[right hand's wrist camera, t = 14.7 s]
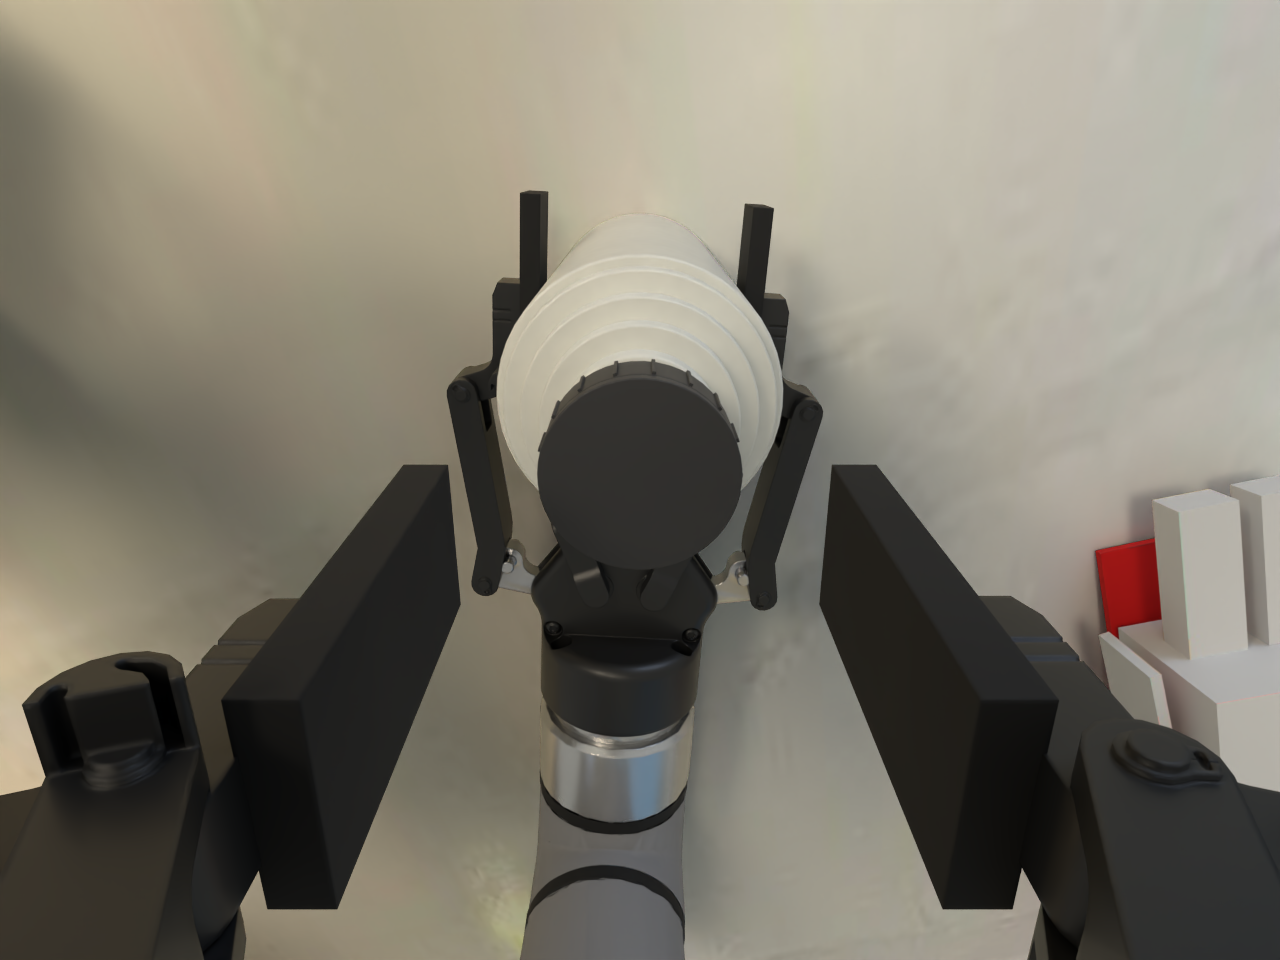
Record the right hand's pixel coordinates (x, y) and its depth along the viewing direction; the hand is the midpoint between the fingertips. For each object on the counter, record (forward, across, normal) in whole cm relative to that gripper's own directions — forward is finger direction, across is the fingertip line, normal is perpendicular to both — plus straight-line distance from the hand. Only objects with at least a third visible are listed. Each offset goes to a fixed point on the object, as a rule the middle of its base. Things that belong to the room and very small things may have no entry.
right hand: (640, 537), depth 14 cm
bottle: (+26, 0, 0) cm, 26 cm away
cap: (+3, 0, 0) cm, 3 cm away
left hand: (+20, 0, -5) cm, 21 cm away
